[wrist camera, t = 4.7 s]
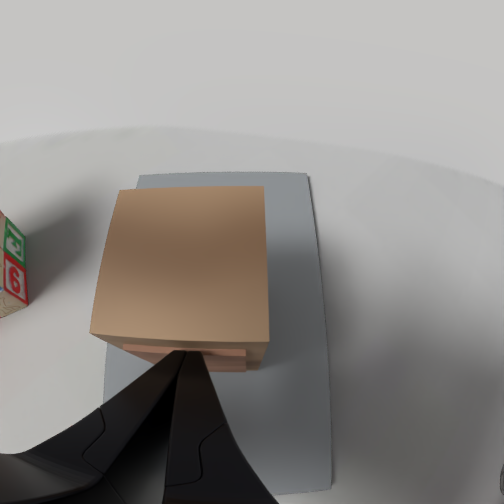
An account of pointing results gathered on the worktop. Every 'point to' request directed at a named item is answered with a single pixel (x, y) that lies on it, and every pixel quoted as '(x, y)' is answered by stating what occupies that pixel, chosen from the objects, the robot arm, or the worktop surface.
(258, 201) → the walnut block
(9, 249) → the stack of blocks
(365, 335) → the worktop surface
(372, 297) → the worktop surface
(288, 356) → the slate mat
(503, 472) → the grey stone statuette
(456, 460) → the worktop surface
